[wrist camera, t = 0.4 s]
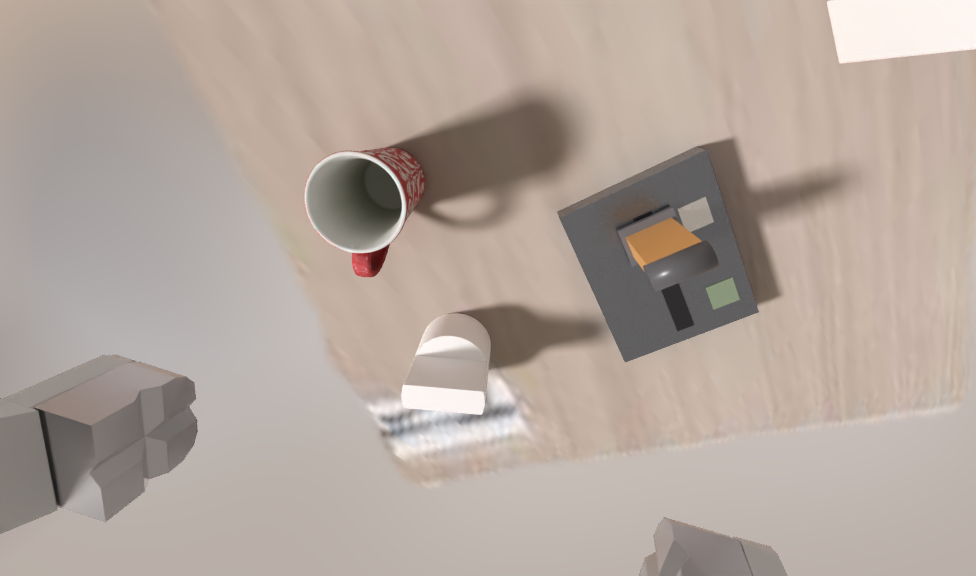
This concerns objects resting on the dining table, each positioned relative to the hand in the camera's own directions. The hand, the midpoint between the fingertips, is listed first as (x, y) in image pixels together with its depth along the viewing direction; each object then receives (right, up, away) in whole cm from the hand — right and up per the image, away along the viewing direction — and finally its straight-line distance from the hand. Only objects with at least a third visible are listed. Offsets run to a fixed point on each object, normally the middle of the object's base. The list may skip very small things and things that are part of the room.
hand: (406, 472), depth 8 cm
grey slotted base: (+21, +7, +46) cm, 51 cm away
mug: (-10, +14, +45) cm, 48 cm away
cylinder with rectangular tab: (-3, -4, +52) cm, 53 cm away
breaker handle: (+19, +9, +42) cm, 47 cm away
